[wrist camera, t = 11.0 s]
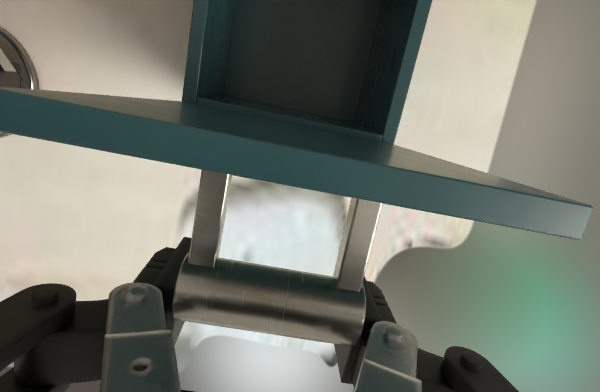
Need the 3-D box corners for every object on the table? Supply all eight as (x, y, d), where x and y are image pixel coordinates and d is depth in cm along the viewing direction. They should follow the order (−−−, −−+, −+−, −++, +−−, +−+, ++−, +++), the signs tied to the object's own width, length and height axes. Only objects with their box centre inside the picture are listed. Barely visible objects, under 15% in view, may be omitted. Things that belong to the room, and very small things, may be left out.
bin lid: (-24, 84, 7) (-30, 341, 8) (595, 206, 8) (515, 416, 9) (179, 101, 21) (167, 194, 22) (396, 145, 22) (374, 231, 23)
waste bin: (239, -81, 29) (214, -178, 18) (400, -41, 30) (462, -111, 19) (214, 102, 32) (180, 108, 22) (358, 131, 33) (392, 150, 23)
